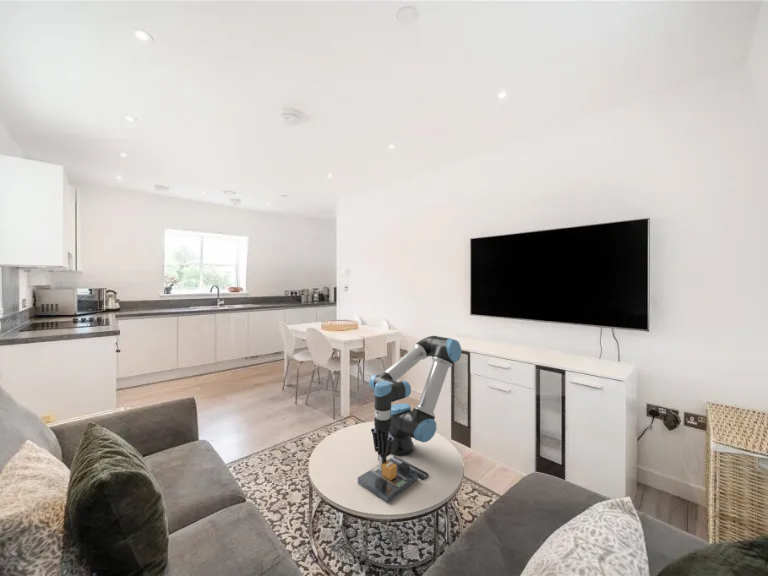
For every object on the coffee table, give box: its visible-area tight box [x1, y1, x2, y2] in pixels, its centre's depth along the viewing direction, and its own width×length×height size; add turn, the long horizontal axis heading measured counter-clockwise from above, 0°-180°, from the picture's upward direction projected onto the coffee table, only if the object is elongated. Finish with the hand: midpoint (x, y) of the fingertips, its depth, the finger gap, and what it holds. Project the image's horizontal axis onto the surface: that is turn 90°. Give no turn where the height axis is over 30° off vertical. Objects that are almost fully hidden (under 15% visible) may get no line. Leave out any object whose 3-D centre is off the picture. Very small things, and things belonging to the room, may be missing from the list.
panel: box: [357, 458, 419, 504], centre depth 141 cm, size 20×18×6 cm
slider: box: [382, 461, 397, 481], centre depth 141 cm, size 4×5×6 cm
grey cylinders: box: [389, 455, 429, 480], centre depth 151 cm, size 5×21×1 cm, turn 46°
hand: (382, 468), depth 144 cm, fingers closed
